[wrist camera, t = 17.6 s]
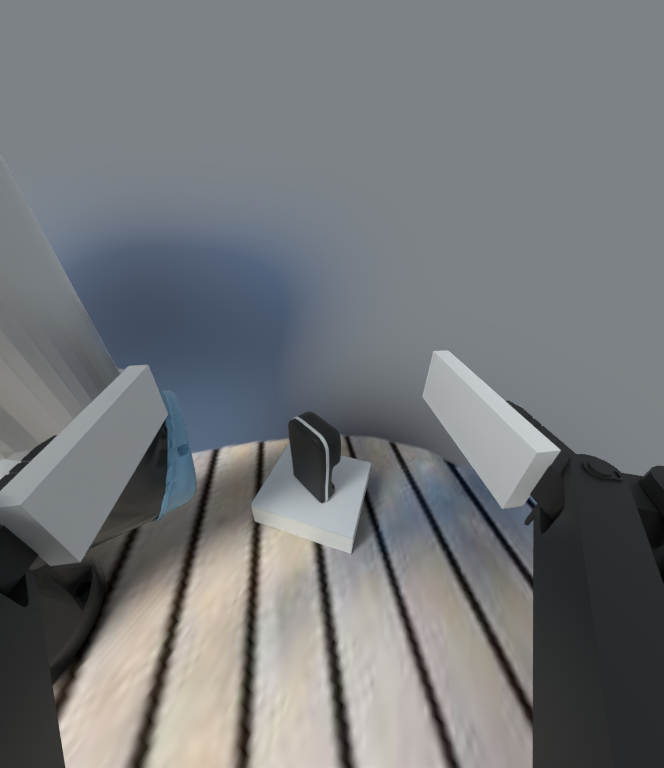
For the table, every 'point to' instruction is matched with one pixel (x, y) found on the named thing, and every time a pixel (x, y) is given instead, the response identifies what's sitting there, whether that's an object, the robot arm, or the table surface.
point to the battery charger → (314, 453)
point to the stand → (314, 503)
